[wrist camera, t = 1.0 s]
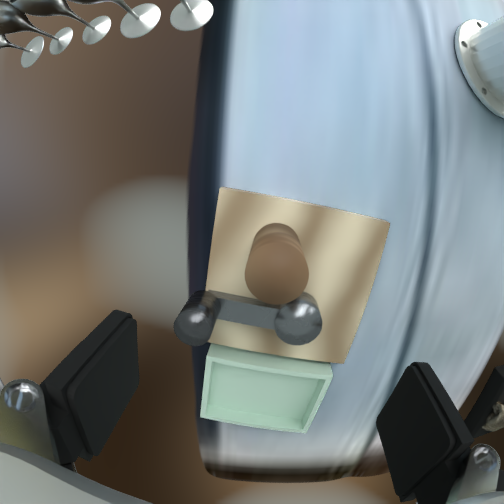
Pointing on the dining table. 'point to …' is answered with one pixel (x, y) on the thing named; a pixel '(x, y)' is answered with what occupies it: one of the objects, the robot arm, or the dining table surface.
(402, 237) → the dining table surface
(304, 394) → the tray
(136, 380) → the robot arm
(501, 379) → the coral
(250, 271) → the peg
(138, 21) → the goblet set
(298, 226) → the plate
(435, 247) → the dining table surface
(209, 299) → the crank
